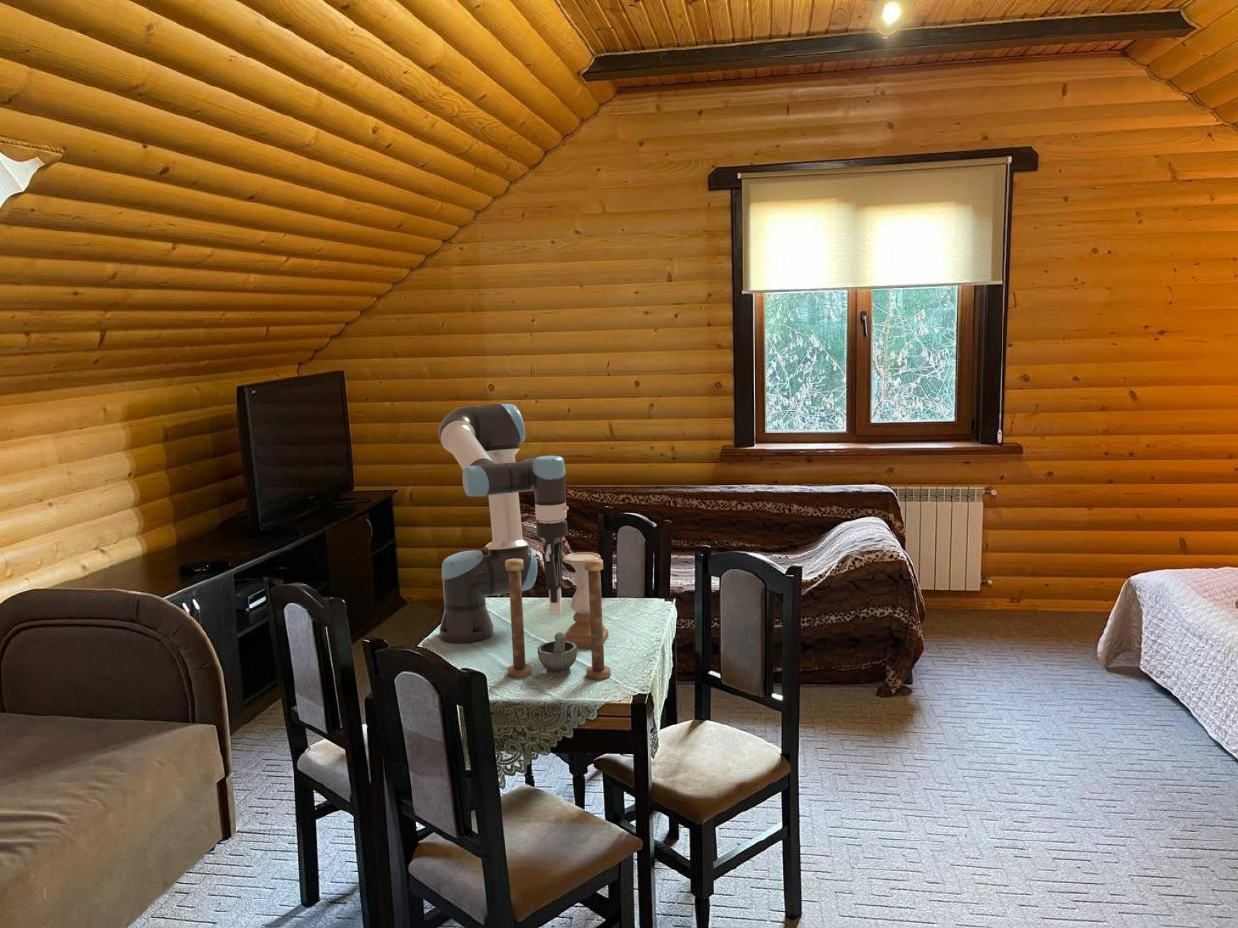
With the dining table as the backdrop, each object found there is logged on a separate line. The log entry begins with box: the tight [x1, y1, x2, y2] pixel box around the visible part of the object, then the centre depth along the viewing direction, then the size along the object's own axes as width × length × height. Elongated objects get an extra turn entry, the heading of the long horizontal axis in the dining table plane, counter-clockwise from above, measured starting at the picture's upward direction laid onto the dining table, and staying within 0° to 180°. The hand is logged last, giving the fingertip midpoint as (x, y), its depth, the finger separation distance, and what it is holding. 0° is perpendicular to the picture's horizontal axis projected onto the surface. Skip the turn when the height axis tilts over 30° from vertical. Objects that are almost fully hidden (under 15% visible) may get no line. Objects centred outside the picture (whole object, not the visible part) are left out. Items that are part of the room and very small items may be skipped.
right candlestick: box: [585, 558, 612, 681], centre depth 228 cm, size 6×6×29 cm
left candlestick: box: [505, 559, 533, 679], centre depth 231 cm, size 6×6×29 cm
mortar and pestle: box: [537, 632, 578, 679], centre depth 231 cm, size 11×9×12 cm
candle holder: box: [562, 551, 609, 649], centre depth 254 cm, size 11×11×24 cm
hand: (555, 613), depth 230 cm, fingers closed
